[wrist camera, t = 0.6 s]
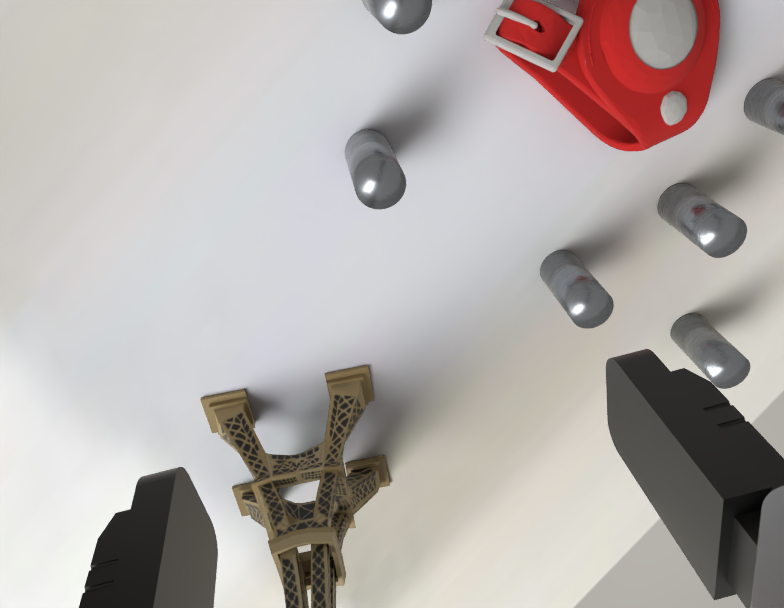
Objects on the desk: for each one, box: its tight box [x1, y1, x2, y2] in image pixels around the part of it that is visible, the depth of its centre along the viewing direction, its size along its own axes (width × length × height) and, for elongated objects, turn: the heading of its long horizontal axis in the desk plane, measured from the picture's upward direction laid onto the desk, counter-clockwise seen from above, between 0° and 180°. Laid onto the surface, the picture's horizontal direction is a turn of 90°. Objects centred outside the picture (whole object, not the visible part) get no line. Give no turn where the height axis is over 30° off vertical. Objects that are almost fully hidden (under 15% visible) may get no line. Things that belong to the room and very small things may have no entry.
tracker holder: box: [484, 0, 720, 151], centre depth 34 cm, size 12×4×10 cm
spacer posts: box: [345, 0, 784, 389], centre depth 34 cm, size 23×31×5 cm
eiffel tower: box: [201, 365, 390, 608], centre depth 34 cm, size 11×11×25 cm
